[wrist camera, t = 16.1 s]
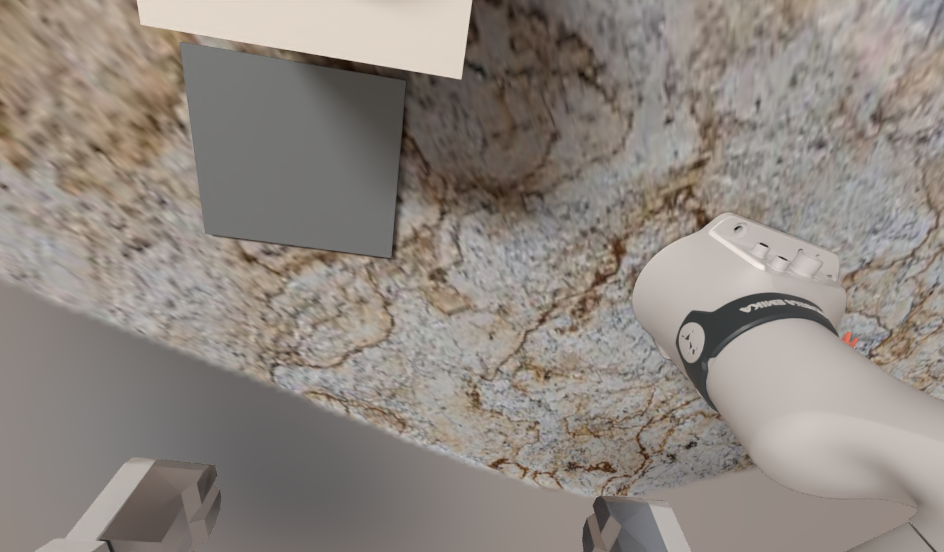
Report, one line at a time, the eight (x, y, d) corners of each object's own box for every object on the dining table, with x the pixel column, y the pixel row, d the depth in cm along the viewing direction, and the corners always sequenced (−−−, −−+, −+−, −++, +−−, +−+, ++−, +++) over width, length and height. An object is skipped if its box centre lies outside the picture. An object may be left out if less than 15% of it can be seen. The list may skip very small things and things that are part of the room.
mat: (406, 80, 40) (405, 80, 39) (391, 255, 48) (391, 258, 47) (183, 42, 38) (179, 42, 37) (208, 231, 46) (205, 233, 45)
